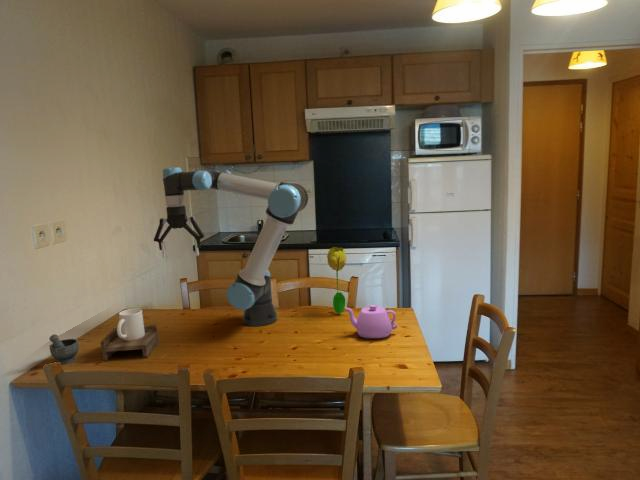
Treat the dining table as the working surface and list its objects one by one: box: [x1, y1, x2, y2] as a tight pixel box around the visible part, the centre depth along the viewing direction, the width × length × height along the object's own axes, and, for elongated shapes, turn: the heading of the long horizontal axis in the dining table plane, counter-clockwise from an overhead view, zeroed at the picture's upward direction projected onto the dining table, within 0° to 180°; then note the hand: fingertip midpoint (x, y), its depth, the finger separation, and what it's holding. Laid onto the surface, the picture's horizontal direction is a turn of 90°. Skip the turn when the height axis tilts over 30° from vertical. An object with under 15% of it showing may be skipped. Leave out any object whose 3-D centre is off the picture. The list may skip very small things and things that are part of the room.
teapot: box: [344, 304, 398, 339], centre depth 186 cm, size 20×13×12 cm, turn 84°
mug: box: [116, 308, 145, 341], centre depth 182 cm, size 12×8×10 cm
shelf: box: [100, 324, 160, 362], centre depth 184 cm, size 16×15×8 cm
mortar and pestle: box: [48, 333, 80, 366], centre depth 177 cm, size 11×9×12 cm
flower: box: [326, 246, 347, 315], centre depth 211 cm, size 9×8×30 cm
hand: (181, 256), depth 201 cm, fingers open, 13 cm apart
